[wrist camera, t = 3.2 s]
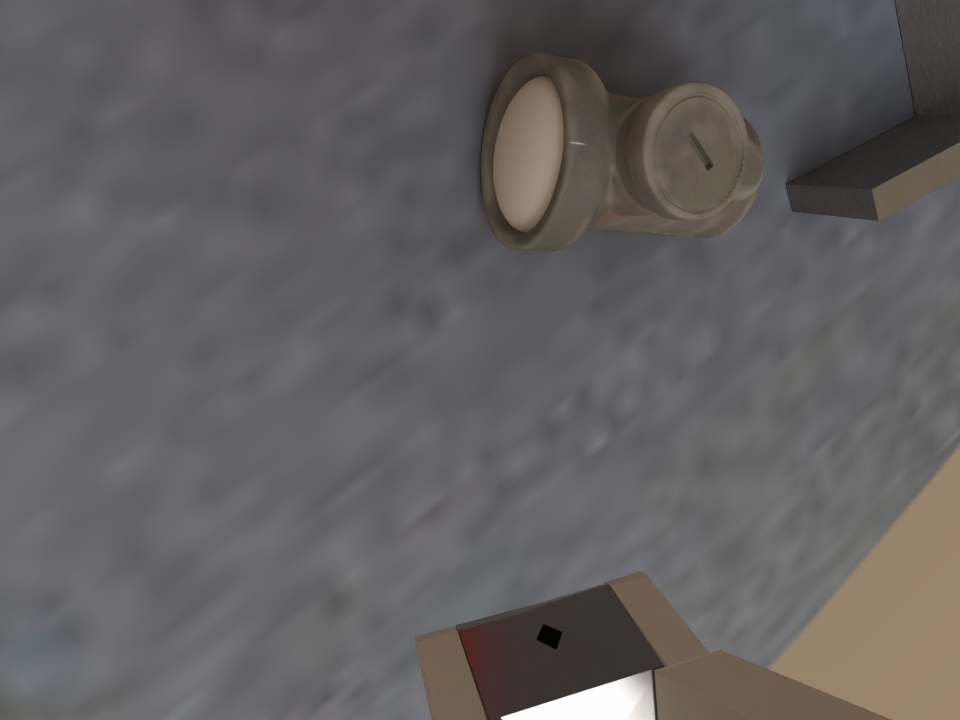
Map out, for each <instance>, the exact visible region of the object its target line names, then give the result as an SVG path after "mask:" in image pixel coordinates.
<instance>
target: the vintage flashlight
mask: <svg viewBox="0 0 960 720" xmlns="http://www.w3.org/2000/svg"><path fill="white" fill-rule="evenodd" d="M763 173H764V162H763V154H762V147H761V143H760V140H759V137H758V135H757V133H756V131H755V129H754V128H753V126H752V125H751V124H750V123H749V122H748V121H747V120H745V119H744V118H743V117H742V115H741V113H740V111H739V109H738V107H737V105H736V104H735V103H734V101H733V100H732V99H731V98H730V97H729V96H728V95H727V94H726V93H725V92H724V91H722V90H721V89H719V88H718V87H716V86H714V85H711V84H708V83H704V82H688V83H684V84H680V85H676V86H672V87H669V88H666V89H663V90H661V91H659V92H658V93H656V94H655V95H654V96H648V97H643V98H636V97H630V96H623V95H617V94H611V93H608V91H607V90H606V88H605V86H604V85H603V83H602V81H601V80H600V78H599V77H598V75H597V74H596V73H595V71H594V70H593V69H592V68H591V67H590V66H588V65H587V64H585V63H584V62H582V61H579V60H576V59H572V58H567V57H562V56H557V55H552V54H547V53H541V52H536V53H531V54H528V55H526V56H524V57H522V58H521V59H519V60H518V61H517V62H516V63H515V64H514V65H513V66H512V67H511V68H510V70H509V71H508V72H507V74H506V75H505V77H504V78H503V80H502V82H501V84H500V85H499V87H498V89H497V92H496V94H495V96H494V99H493V101H492V104H491V107H490V110H489V113H488V117H487V121H486V125H485V130H484V136H483V142H482V151H481V185H482V196H483V203H484V208H485V212H486V216H487V220H488V223H489V225H490V228H491V230H492V232H493V234H494V235H495V237H496V238H497V240H498V241H499V242H500V243H501V244H503V245H504V246H506V247H508V248H511V249H515V250H526V251H556V250H560V249H563V248H565V247H567V246H569V245H570V244H572V243H573V242H575V241H576V240H577V239H578V238H579V237H580V236H581V235H583V234H584V233H585V232H586V231H587V230H588V229H593V230H606V231H618V232H631V233H643V234H656V235H670V236H683V237H703V238H710V237H717V236H720V235H723V234H725V233H727V232H728V231H730V230H731V229H732V228H734V227H735V226H736V225H737V224H738V223H739V222H740V221H741V220H742V219H743V218H744V216H745V215H746V214H747V212H748V211H749V209H750V208H751V206H752V204H753V202H754V200H755V198H756V195H757V193H758V190H759V187H760V183H761V180H762V177H763Z"/></svg>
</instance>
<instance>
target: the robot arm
mask: <svg viewBox="0 0 960 720" xmlns="http://www.w3.org/2000/svg"><path fill="white" fill-rule="evenodd" d="M415 641H416V648H417V653H418V658H419V662H420V667H421V672H422V676H423V681H424V686H425V690H426V695H427V700H428V704H429V709H430V714H431V718H432V720H891V719H888V718H886V717H884V716H881V715H879V714H876V713H874V712H871V711H869V710H866V709H864V708H862V707H859V706H857V705H854V704H852V703H849V702H847V701H844V700H842V699H839V698H837V697H835V696H832V695H830V694H827V693H825V692H822V691H820V690H817V689H815V688H813V687H810V686H808V685H805V684H803V683H800V682H798V681H795V680H793V679H790V678H788V677H786V676H783V675H780V674H778V673H776V672H773V671H771V670H768V669H766V668H763V667H761V666H759V665H756V664H754V663H751V662H749V661H746V660H744V659H741V658H739V657H737V656H734V655H732V654H729V653H727V652H724V651H722V650H719V651H715V652H712V653H709V652H708V651H707V650H706V648H705V647H704V646H703V645H702V643H701V642H700V641H699V640H698V638H697V637H696V636H695V635H694V633H693V632H692V631H691V630H690V628H689V627H688V626H687V625H686V623H685V622H684V621H683V620H682V618H681V617H680V616H679V615H678V613H677V612H676V611H675V610H674V608H673V607H672V606H671V605H670V603H669V602H668V601H667V600H666V598H665V597H664V596H663V595H662V593H661V592H660V591H659V590H658V588H657V587H656V586H655V585H654V583H653V582H652V581H651V580H650V578H649V577H648V576H647V575H646V574H644V573H642V572H637V573H634V574H630V575H627V576H624V577H621V578H618V579H615V580H611V581H608V582H605V583H604V585H599V586H595V587H592V588H589V589H585V590H582V591H579V592H575V593H572V594H568V595H565V596H562V597H558V598H555V599H552V600H548V601H545V602H542V603H538V604H535V605H530V606H527V607H523V608H519V609H515V610H511V611H508V612H504V613H500V614H496V615H493V616H489V617H485V618H481V619H478V620H474V621H470V622H466V623H462V624H459V625H456V629H455V628H454V627H449V628H446V629H442V630H438V631H435V632H431V633H427V634H424V635H420V636H416V637H415Z"/></svg>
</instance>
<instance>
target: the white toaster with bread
mask: <svg viewBox="0 0 960 720" xmlns="http://www.w3.org/2000/svg"><path fill="white" fill-rule="evenodd" d="M895 3H896V9H897V14H898V20H899V25H900V31H901V36H902V42H903V47H904V53H905V58H906V64H907V69H908V75H909V80H910V85H911V91H912V96H913V102H914V107H915V113H916V116H915V117H913V118H911V119H909V120H907V121H906V122H904V123H902V124H900V125H898V126H896V127H894V128H892V129H890V130H888V131H886V132H885V133H883V134H881V135H879V136H877V137H875V138H873V139H871V140H869V141H867V142H866V143H864V144H862V145H860V146H858V147H856V148H854V149H852V150H850V151H848V152H846V153H845V154H843V155H841V156H839V157H837V158H835V159H833V160H831V161H829V162H827V163H826V164H824V165H822V166H820V167H818V168H816V169H814V170H812V171H810V172H808V173H806V174H805V175H803V176H801V177H799V178H797V179H795V180H793V181H791V182H789V183H787V184H786V187H787V191H788V195H789V199H790V203H791V207H792V210H793V212H802V213H811V214H820V215H830V216H839V217H848V218H858V219H867V220H876V221H879V220H881V219H883V218H885V217H886V216H888V215H890V214H892V213H894V212H896V211H897V210H899V209H901V208H903V207H905V206H907V205H908V204H910V203H912V202H914V201H916V200H918V199H919V198H921V197H923V196H925V195H927V194H928V193H930V192H932V191H934V190H936V189H938V188H939V187H941V186H943V185H945V184H947V183H949V182H950V181H952V180H954V179H956V178H958V177H960V0H895Z"/></svg>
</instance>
